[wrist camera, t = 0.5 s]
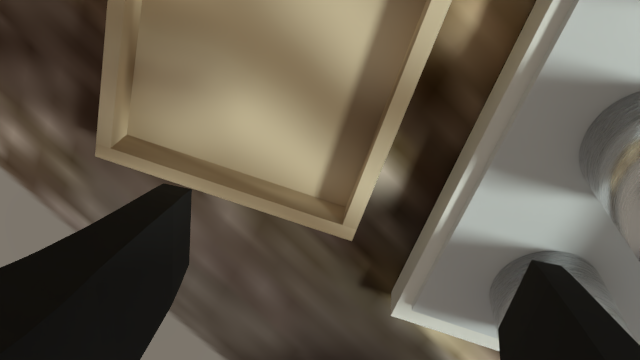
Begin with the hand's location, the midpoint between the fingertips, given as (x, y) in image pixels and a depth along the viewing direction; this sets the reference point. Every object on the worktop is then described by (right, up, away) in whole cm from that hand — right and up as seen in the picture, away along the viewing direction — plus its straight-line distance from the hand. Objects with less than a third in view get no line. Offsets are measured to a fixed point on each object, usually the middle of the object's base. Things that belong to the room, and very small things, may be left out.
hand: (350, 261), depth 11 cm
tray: (-3, +6, +9) cm, 11 cm away
